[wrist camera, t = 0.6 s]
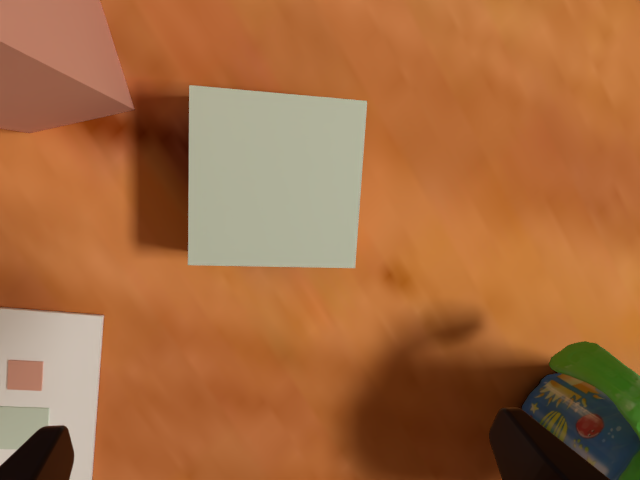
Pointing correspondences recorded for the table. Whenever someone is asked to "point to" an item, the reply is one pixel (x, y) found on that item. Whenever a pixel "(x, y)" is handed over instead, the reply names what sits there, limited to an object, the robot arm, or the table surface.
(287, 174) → the base brick
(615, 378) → the snack cup
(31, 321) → the page
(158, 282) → the table surface
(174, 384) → the table surface
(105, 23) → the tall brick
